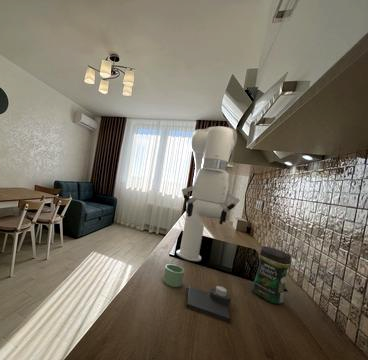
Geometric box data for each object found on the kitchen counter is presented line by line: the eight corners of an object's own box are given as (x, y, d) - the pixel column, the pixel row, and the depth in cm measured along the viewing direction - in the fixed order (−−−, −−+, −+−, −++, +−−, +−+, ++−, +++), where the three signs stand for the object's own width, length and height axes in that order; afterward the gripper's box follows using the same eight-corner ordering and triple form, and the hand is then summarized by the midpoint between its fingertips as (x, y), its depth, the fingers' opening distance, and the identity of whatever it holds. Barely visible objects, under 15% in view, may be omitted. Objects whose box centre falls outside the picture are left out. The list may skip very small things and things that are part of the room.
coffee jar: (248, 291, 83) (257, 244, 82) (259, 288, 87) (268, 244, 86) (275, 307, 74) (285, 254, 74) (286, 303, 78) (296, 254, 78)
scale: (188, 288, 77) (190, 280, 77) (227, 300, 73) (229, 292, 73) (186, 307, 65) (188, 297, 65) (233, 323, 61) (235, 313, 61)
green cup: (164, 276, 84) (166, 262, 84) (182, 281, 81) (185, 267, 81) (161, 283, 77) (163, 268, 77) (180, 290, 75) (183, 274, 75)
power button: (215, 290, 73) (216, 284, 73) (225, 293, 72) (226, 288, 72) (215, 295, 70) (216, 289, 70) (226, 298, 69) (227, 292, 69)
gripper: (244, 171, 67) (234, 225, 67) (189, 164, 75) (180, 212, 75) (245, 169, 60) (234, 228, 61) (184, 161, 69) (175, 214, 69)
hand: (204, 219), depth 68 cm, fingers open, 9 cm apart
